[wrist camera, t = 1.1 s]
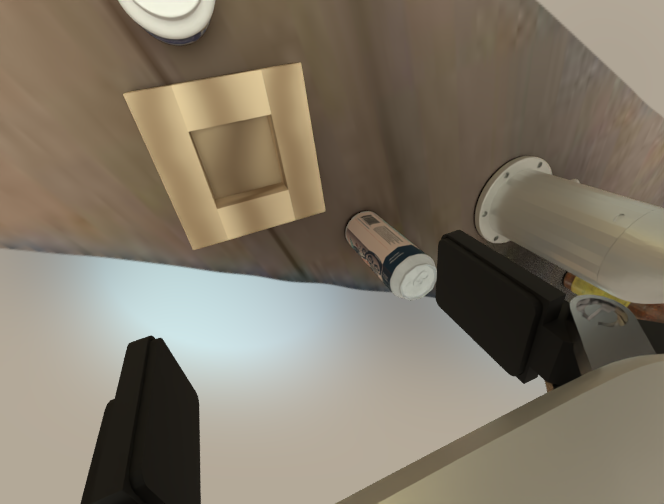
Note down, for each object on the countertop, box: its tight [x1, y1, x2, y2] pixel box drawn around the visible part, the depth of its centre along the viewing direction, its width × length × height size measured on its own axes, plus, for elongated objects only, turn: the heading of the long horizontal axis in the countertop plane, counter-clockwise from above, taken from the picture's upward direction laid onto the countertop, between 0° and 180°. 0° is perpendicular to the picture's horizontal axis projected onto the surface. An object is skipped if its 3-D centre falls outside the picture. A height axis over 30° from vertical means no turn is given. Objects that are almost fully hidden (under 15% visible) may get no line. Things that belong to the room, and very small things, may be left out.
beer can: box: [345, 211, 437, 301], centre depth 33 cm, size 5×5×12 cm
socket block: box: [123, 63, 325, 250], centre depth 28 cm, size 13×13×3 cm
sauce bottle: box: [563, 272, 664, 323], centre depth 53 cm, size 7×6×20 cm
